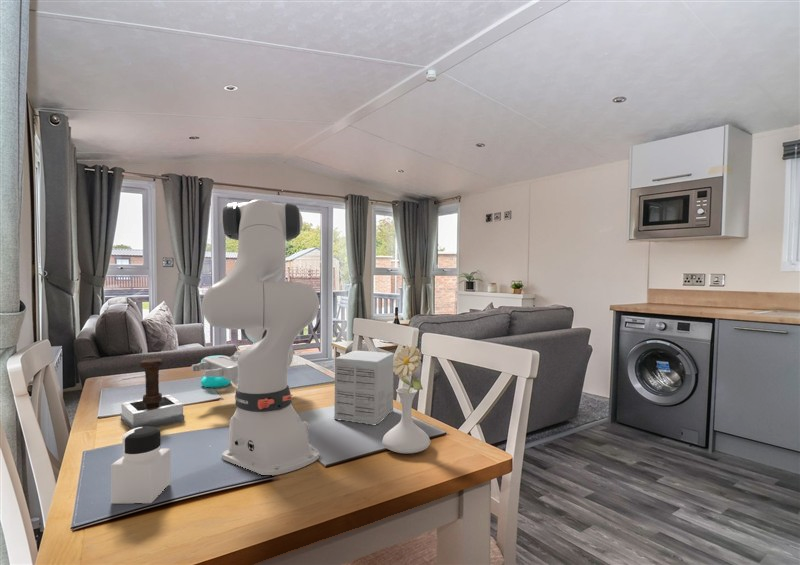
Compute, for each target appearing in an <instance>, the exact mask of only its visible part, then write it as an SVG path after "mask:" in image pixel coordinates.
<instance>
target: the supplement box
mask: <svg viewBox="0 0 800 565" xmlns="http://www.w3.org/2000/svg"><path fill="white" fill-rule="evenodd" d="M394 358H395V354H394V353H393V352H385V351H384V352H380V351H370V350H356V349H355V350H352V351H350V352H347V353H344V354H342V355H340V356H337V357H335V358H334V420H335V419H341V420H347V421H346V422H348V421H353V422H352V423H355V422H360V423H359V424H362V423H367V424H366V425H368V424H378V423H379V422H380V421H381V420H382V419H383V418H384V419H386V418H387V417H388V416H389V415H390V414H392V413H393V411H394V375H395V373H394V372H393V369H394V368H395V367H394V366H393V363H394V360H395V359H394ZM389 413H390V414H389ZM388 414H389V415H388ZM387 415H388V416H387ZM386 416H387V417H386ZM385 417H386V418H385ZM384 419H383V420H384ZM341 420H340V421H341ZM383 420H382V421H383ZM382 421H381V422H382ZM381 422H380V423H381ZM380 423H379V424H380ZM379 424H378V425H379Z"/></svg>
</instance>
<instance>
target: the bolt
mask: <svg viewBox="0 0 800 565" xmlns="http://www.w3.org/2000/svg"><path fill="white" fill-rule="evenodd" d="M163 361H164V359H162V358H159V357H157V358H155V357H154V358H146V359H143V360H140V364H139V365H140V368H141V369H142V368H144V373H145V374H144V376H145V377H144V378H145V394H144V395H142V399H143V403H145V404H146V409H151V408H157V407H159V402H160V401H161V400H162V396H163V395H162V392H160V386H159V384H160V383H159V382H160V381H159V377H160V376H159V374H160V367H162V366H163V365H164V364H163V363H164V362H163Z"/></svg>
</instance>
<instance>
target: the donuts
mask: <svg viewBox="0 0 800 565" xmlns="http://www.w3.org/2000/svg"><path fill="white" fill-rule="evenodd" d="M214 356H215V355H209V356H208V357H214ZM216 356H223V355H218V354H217V355H216ZM206 357H207V356H205V357H204V358H206ZM202 360H203V358H202V359H201V360H200V363H201V362H202ZM231 382H232V380H227V379H225V378H223V377H220V376H219V377H216V376H211V377H205V376H203V378H202V379H201V380H200V385H201V386H202V387H203V386H204V387H203V388H206V387H211V388H210V389H216V388H217V389H218V388H223V387H226V386H228V385H230V383H231Z"/></svg>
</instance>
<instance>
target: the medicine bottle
mask: <svg viewBox="0 0 800 565" xmlns="http://www.w3.org/2000/svg"><path fill="white" fill-rule="evenodd" d="M161 432H162V431H161V429H160V428H159V427H152V426H144V427H138V428H135V429H130V430H129V431H126V432H124V434H123V435H122V457H120V458H119V459H117V460H115V461H114V462H113V463H111V465H110V491H111V492H110V501H111V504H114V505H115V504H116V505H117V504H119V505H120V504H121V505H122V504H126V505H127V504H131V505H132V504H134V503H142V504H152V503H153V502H154V501H155V500H156V499H157V498H158V497H159V496H160V495H161V494H162V493H163V492H164V491H165V490H166V489H167V488H168V487H169V486H170V485H171V482H172V480H171V479H172V478H171V467H172V466H171V457H172V456H171V449H170V448H162V447H161V444H162V443H161V437H162V434H161ZM169 484H170V485H169ZM168 485H169V486H168ZM167 486H168V487H167ZM166 487H167V488H166ZM165 488H166V489H165ZM164 489H165V490H164ZM162 491H163V492H162ZM158 495H159V496H158Z"/></svg>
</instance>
